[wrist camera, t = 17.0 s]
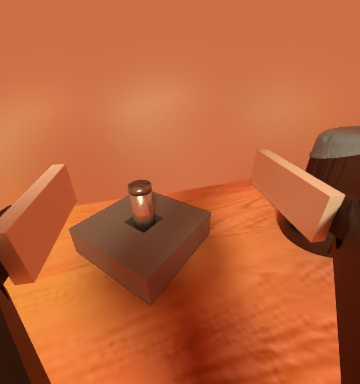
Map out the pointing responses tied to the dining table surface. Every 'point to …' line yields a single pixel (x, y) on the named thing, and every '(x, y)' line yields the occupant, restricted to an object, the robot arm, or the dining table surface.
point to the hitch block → (142, 243)
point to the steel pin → (141, 204)
